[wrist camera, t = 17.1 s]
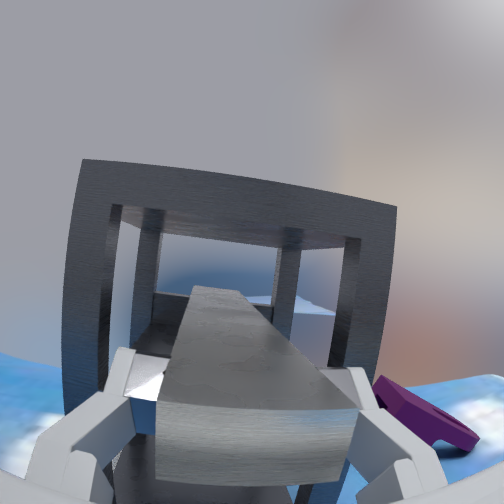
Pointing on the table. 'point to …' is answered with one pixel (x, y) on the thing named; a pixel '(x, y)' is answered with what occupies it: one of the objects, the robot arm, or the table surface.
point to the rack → (174, 305)
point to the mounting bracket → (422, 416)
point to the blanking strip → (246, 403)
